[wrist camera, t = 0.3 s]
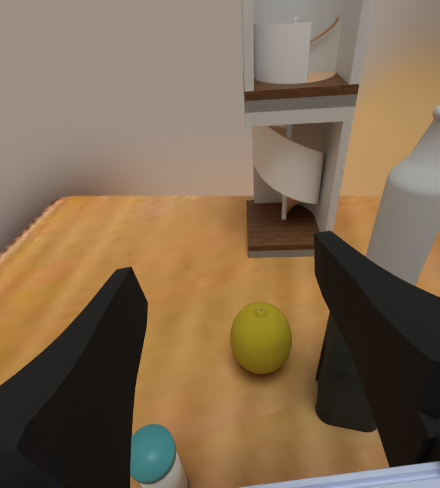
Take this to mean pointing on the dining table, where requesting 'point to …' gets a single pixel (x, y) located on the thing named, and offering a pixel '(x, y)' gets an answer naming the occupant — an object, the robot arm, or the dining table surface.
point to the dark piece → (394, 261)
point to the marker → (156, 459)
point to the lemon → (261, 338)
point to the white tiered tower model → (299, 114)
